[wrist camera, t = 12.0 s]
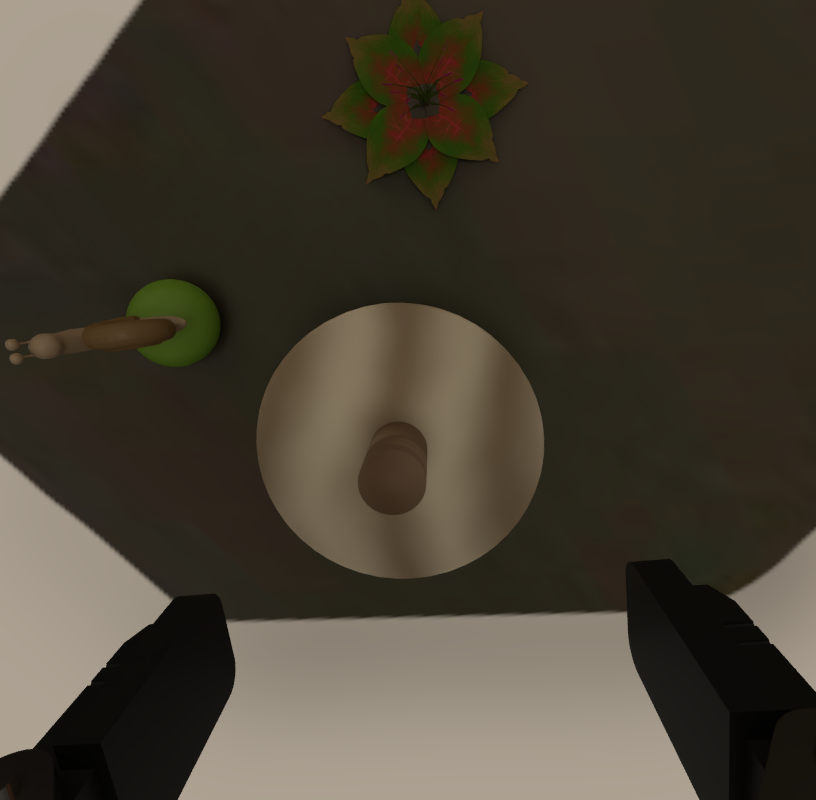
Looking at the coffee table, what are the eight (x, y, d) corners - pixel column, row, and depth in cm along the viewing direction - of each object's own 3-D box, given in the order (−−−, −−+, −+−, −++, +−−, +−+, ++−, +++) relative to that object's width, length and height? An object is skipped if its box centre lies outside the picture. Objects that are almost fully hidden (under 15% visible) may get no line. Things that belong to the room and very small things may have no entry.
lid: (532, 286, 28) (558, 289, 22) (547, 559, 32) (573, 622, 26) (239, 318, 29) (191, 329, 24) (285, 578, 33) (254, 644, 27)
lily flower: (440, 245, 35) (441, 240, 30) (289, 125, 33) (267, 101, 29) (562, 81, 32) (583, 49, 28) (405, -54, 31) (400, -110, 27)
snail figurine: (131, 288, 36) (-15, 294, 24) (222, 272, 35) (118, 272, 24) (152, 367, 37) (22, 409, 25) (241, 353, 37) (150, 390, 25)
